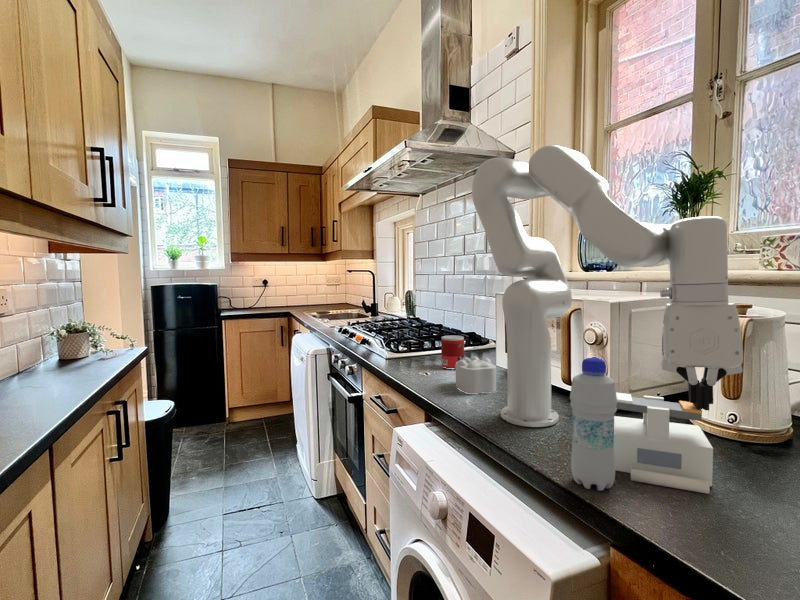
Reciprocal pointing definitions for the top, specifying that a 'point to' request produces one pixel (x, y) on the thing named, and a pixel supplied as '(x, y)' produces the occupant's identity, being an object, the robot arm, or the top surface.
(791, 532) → the top surface
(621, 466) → the box
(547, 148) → the robot arm
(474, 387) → the lumpy-topped squat cylinder
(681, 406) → the lever
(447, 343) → the canned food
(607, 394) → the bottle
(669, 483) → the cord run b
